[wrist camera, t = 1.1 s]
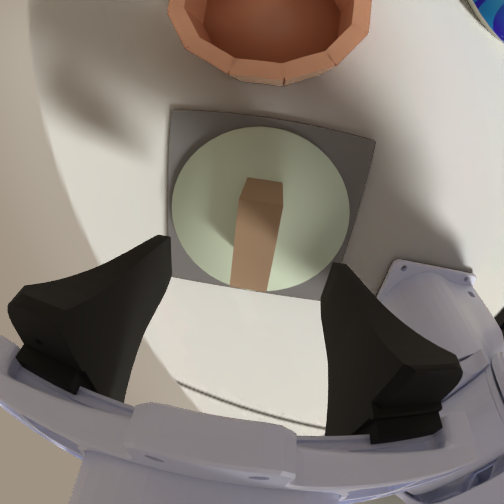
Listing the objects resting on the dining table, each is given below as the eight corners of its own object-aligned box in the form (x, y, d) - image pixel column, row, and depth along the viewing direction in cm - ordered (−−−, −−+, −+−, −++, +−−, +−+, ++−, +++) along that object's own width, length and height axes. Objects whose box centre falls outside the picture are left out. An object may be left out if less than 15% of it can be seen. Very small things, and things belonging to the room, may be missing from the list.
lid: (366, 147, 14) (393, 163, 10) (322, 295, 20) (329, 337, 16) (178, 118, 14) (147, 126, 11) (176, 272, 20) (156, 310, 16)
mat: (373, 140, 14) (375, 141, 14) (326, 297, 20) (326, 301, 20) (174, 109, 14) (171, 109, 14) (172, 272, 21) (169, 276, 20)
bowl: (355, -24, 8) (373, -50, 5) (340, 98, 13) (359, 97, 10) (206, -40, 9) (188, -68, 5) (185, 78, 13) (157, 73, 10)
